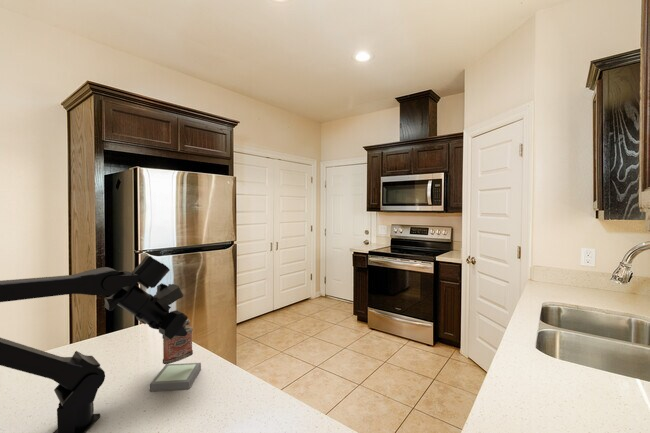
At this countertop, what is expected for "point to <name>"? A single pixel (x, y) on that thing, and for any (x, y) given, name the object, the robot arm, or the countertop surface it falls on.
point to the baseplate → (175, 377)
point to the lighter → (178, 346)
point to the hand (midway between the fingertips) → (182, 332)
